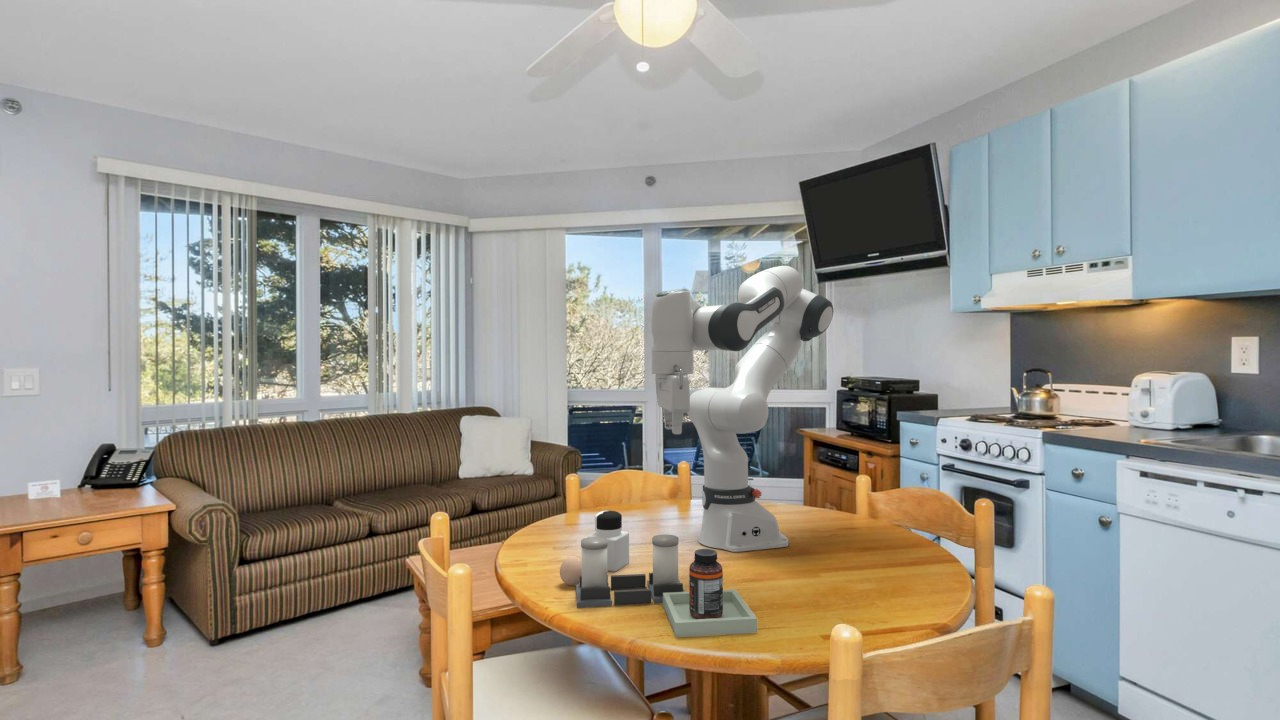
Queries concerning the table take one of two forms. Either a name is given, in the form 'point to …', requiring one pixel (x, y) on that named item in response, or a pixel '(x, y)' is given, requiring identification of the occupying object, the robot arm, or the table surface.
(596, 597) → the fuse holder
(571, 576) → the egg
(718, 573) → the supplement bottle
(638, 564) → the table surface
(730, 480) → the robot arm
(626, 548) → the medicine bottle
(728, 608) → the tray
